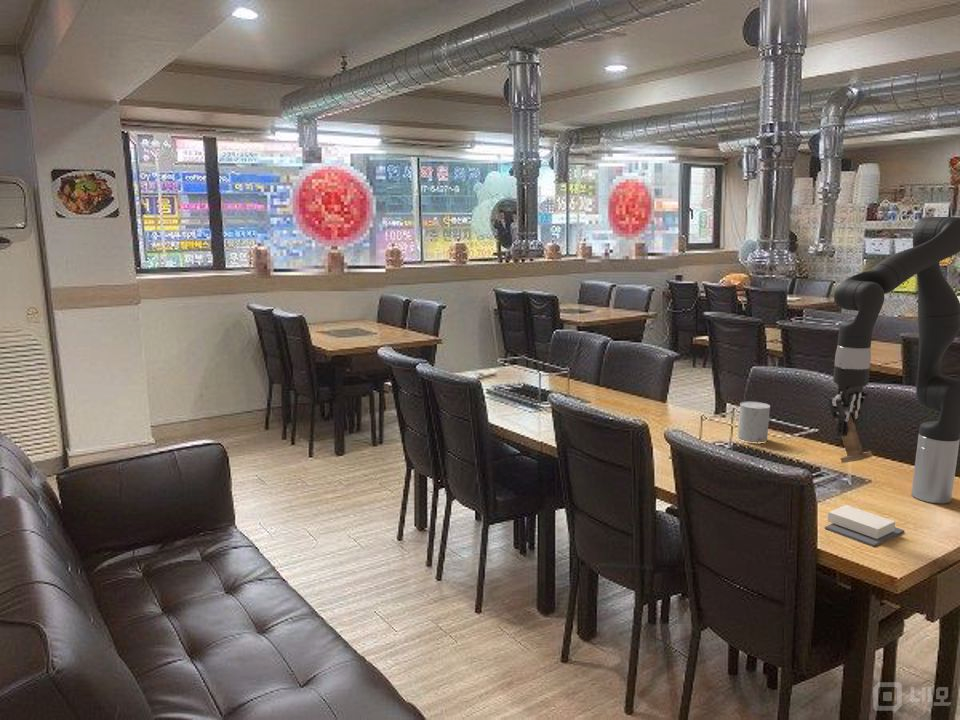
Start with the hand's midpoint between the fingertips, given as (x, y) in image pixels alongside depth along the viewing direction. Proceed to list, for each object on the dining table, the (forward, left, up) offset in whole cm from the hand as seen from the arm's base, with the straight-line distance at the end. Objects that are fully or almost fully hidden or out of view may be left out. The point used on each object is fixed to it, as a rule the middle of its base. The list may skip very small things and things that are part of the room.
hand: (845, 433), depth 174 cm
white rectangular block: (0, 0, -20) cm, 20 cm away
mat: (0, +7, -22) cm, 24 cm away
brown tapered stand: (0, +3, -6) cm, 7 cm away
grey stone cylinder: (-41, -53, -23) cm, 71 cm away
